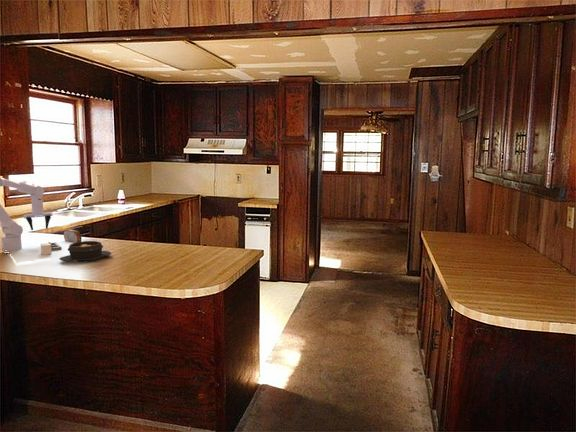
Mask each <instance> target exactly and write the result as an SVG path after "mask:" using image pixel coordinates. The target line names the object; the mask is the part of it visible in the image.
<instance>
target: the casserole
mask: <svg viewBox="0 0 576 432" xmlns="http://www.w3.org/2000/svg"><path fill="white" fill-rule="evenodd" d="M103 248H104V246H103V244H102V243H101V241H96V240H86V241H85V240H84V241H81V242H73V243H71V244H69V246H68V248H67V251H68V253H69V255H64V256H61V257H60V258H59V260H60V261H62V262H67V263H69V262H77V261H79V262H78V263H85V262H84V261H88V262H92V261H96V260H98V259H101V258H104V257H107V256H111V254H112V252H110V251H109V250H103Z"/></svg>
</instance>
